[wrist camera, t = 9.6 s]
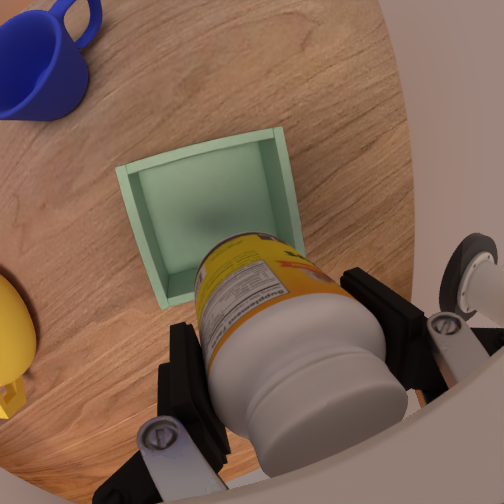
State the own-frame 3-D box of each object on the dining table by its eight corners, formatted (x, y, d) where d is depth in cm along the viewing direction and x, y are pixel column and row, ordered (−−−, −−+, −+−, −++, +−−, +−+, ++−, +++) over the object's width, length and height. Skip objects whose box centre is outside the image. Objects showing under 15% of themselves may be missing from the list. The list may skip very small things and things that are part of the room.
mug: (142, 38, 20) (126, -15, 11) (65, 143, 22) (11, 139, 12) (84, 10, 17) (53, -39, 8) (13, 108, 19) (-46, 96, 9)
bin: (262, 131, 26) (282, 126, 20) (285, 247, 30) (307, 266, 25) (128, 165, 24) (114, 167, 19) (163, 282, 28) (160, 309, 23)
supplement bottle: (314, 289, 16) (437, 416, 7) (231, 343, 16) (289, 508, 7) (266, 204, 14) (421, 298, 5) (170, 268, 14) (168, 455, 4)
